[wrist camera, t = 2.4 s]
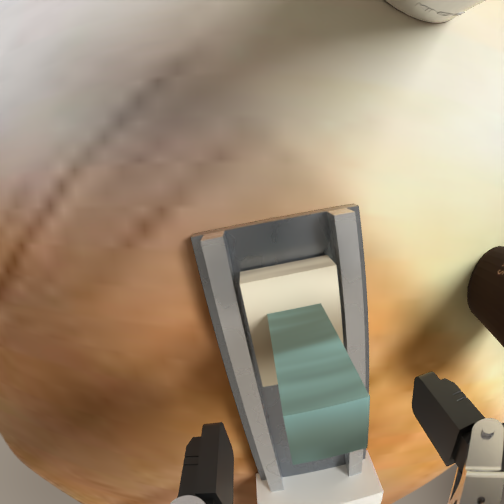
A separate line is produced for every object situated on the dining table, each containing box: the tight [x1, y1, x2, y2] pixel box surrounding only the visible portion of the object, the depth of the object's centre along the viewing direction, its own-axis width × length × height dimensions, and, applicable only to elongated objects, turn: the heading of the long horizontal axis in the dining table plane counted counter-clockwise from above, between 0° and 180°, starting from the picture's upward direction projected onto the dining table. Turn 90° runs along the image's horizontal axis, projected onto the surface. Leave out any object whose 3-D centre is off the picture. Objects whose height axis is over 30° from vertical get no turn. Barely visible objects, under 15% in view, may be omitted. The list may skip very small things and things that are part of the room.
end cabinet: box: [256, 450, 384, 504], centre depth 23 cm, size 5×11×6 cm, turn 101°
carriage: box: [240, 255, 370, 465], centre depth 15 cm, size 7×5×10 cm
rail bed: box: [191, 204, 369, 492], centre depth 22 cm, size 27×10×3 cm, turn 11°
